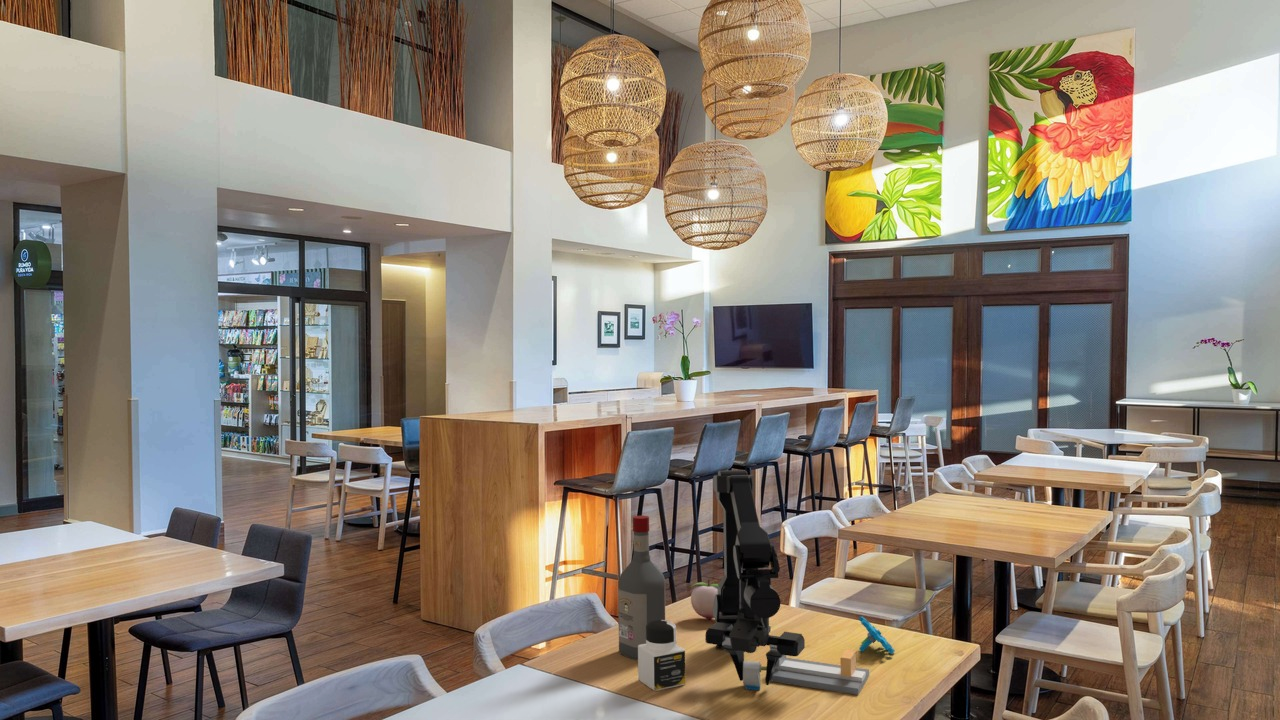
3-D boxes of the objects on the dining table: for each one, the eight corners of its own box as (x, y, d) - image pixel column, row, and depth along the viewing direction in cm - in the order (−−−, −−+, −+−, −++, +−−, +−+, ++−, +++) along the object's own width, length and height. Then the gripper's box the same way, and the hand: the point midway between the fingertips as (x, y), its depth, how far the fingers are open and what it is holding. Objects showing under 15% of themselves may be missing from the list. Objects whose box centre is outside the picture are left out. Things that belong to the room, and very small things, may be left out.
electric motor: (767, 695, 161) (767, 669, 161) (742, 693, 162) (742, 667, 162) (768, 681, 168) (768, 656, 168) (744, 680, 168) (744, 655, 168)
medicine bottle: (654, 692, 163) (653, 630, 163) (637, 679, 169) (636, 620, 170) (686, 685, 166) (685, 624, 167) (668, 673, 173) (667, 615, 173)
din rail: (767, 680, 168) (767, 658, 168) (782, 662, 178) (782, 642, 178) (858, 694, 160) (858, 671, 160) (869, 675, 170) (868, 653, 170)
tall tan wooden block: (840, 675, 165) (840, 657, 165) (846, 667, 169) (845, 649, 169) (850, 677, 164) (850, 658, 164) (856, 668, 168) (855, 650, 169)
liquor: (640, 663, 179) (639, 522, 179) (613, 652, 186) (611, 517, 186) (671, 653, 185) (670, 517, 185) (644, 643, 192) (642, 511, 192)
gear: (898, 653, 178) (863, 617, 181) (878, 672, 178) (844, 636, 181) (895, 644, 189) (862, 610, 191) (876, 662, 189) (843, 628, 192)
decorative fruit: (688, 624, 205) (688, 583, 205) (692, 614, 213) (691, 575, 213) (727, 626, 204) (726, 584, 204) (729, 615, 212) (728, 576, 212)
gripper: (694, 607, 162) (695, 688, 162) (789, 620, 153) (789, 705, 153) (715, 593, 172) (715, 669, 172) (805, 604, 163) (805, 684, 163)
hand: (754, 682), depth 165 cm, fingers closed on electric motor, 5 cm apart
